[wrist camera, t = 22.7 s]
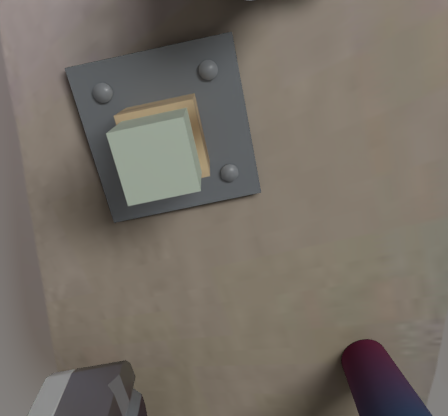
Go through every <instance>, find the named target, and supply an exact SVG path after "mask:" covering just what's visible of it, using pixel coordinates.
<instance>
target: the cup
mask: <svg viewBox="0 0 448 416" xmlns="http://www.w3.org/2000/svg"><path fill="white" fill-rule="evenodd" d="M341 362H342V366H343V369H344V372H345V375H346V378H347V381H348V384H349V387H350V390H351V392H352V395H353V398H354V401H355V404H356V407H357V410H358V413H359V416H432V415H431V413H430V412H429V410H428V409H427V408H426V406H425V405H424V403H423V402H422V401H421V399H420V398H419V396H418V395H417V394H416V392H415V391H414V389H413V388H412V387H411V385H410V384H409V382H408V381H407V380H406V378H405V377H404V375H403V374H402V373H401V371H400V370H399V368H398V367H397V366H396V364H395V363H394V361H393V360H392V359H391V357H390V356H389V354H388V353H387V352H386V350H385V349H384V347H383V346H382V345H381V344H380V343H378V342H376V341H374V340H369V339H365V340H359V341H356V342H354V343H352V344H351V345H349V346H348V347H347V348H346V349H345V351H344V352H343V355H342V359H341Z"/></svg>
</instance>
